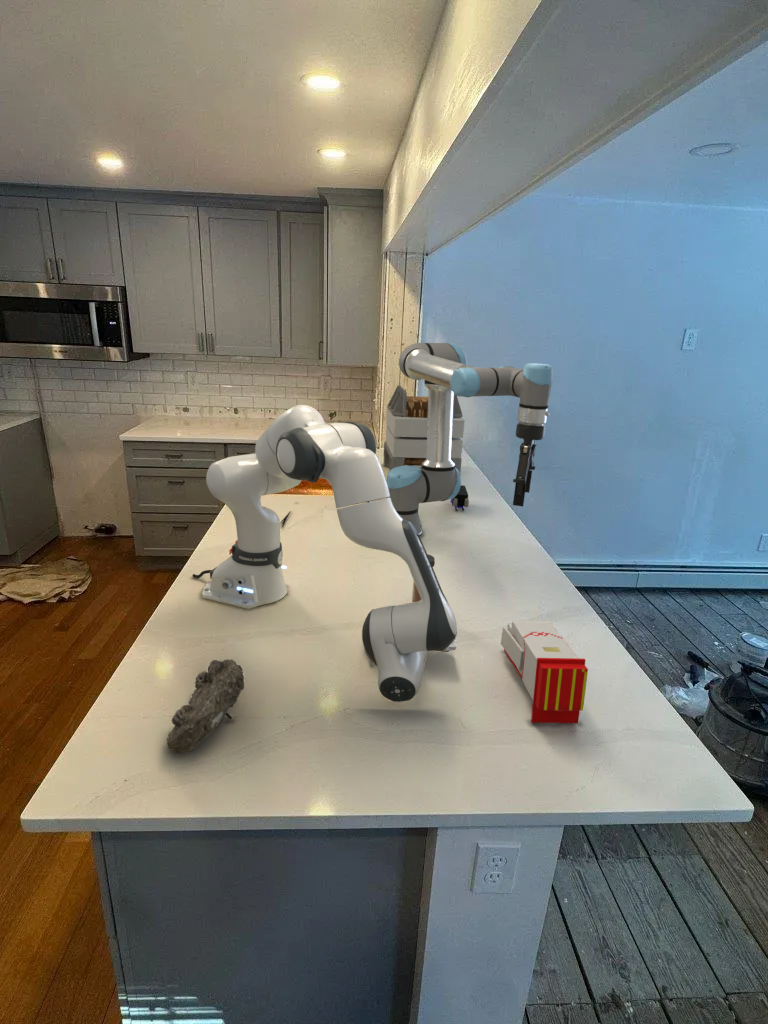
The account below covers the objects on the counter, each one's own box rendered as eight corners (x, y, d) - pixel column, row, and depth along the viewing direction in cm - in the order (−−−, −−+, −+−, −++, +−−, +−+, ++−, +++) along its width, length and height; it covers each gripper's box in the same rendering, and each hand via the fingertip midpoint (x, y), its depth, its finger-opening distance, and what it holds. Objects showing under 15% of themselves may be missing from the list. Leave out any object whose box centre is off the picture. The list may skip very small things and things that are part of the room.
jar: (415, 617, 146) (418, 564, 141) (408, 608, 150) (412, 556, 145) (431, 615, 148) (435, 562, 143) (424, 606, 152) (428, 555, 147)
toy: (547, 606, 135) (596, 665, 106) (541, 658, 138) (589, 729, 108) (496, 604, 134) (532, 664, 105) (492, 657, 137) (526, 729, 108)
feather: (297, 505, 227) (300, 501, 226) (281, 528, 200) (284, 524, 199) (293, 503, 226) (296, 499, 226) (277, 526, 200) (279, 522, 199)
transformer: (382, 463, 289) (386, 382, 275) (445, 464, 293) (451, 384, 279) (390, 482, 257) (394, 392, 243) (460, 483, 261) (468, 394, 247)
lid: (417, 570, 141) (418, 563, 140) (409, 560, 146) (409, 554, 145) (437, 567, 143) (438, 561, 142) (429, 558, 148) (429, 552, 147)
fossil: (192, 660, 117) (244, 628, 112) (224, 691, 120) (276, 661, 115) (142, 746, 98) (202, 712, 93) (182, 779, 101) (242, 748, 96)
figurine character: (468, 516, 224) (463, 500, 237) (471, 498, 221) (465, 483, 234) (452, 515, 224) (447, 499, 237) (453, 498, 220) (449, 482, 234)
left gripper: (457, 639, 120) (460, 607, 133) (363, 626, 123) (374, 596, 136) (454, 664, 123) (457, 630, 135) (362, 651, 126) (373, 619, 138)
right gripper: (540, 433, 140) (529, 514, 147) (549, 417, 162) (539, 488, 169) (510, 429, 142) (500, 509, 149) (523, 414, 164) (514, 484, 171)
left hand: (415, 613), depth 136 cm, fingers open, 8 cm apart
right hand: (521, 498), depth 159 cm, fingers open, 13 cm apart
